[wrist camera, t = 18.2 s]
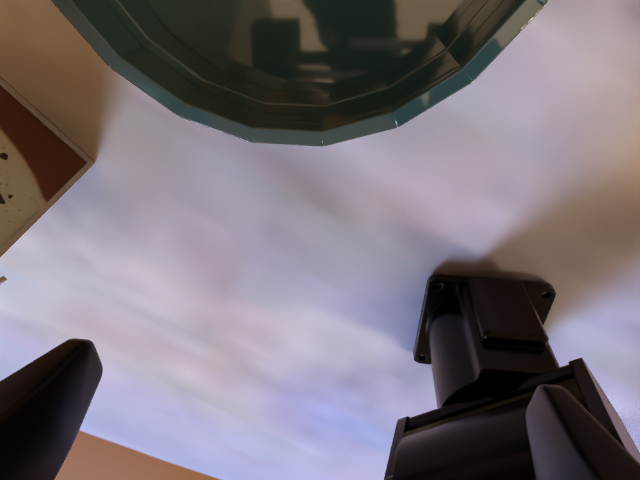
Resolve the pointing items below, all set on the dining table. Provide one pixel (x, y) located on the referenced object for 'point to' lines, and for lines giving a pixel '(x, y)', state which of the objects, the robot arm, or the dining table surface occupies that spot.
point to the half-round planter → (31, 166)
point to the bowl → (299, 58)
